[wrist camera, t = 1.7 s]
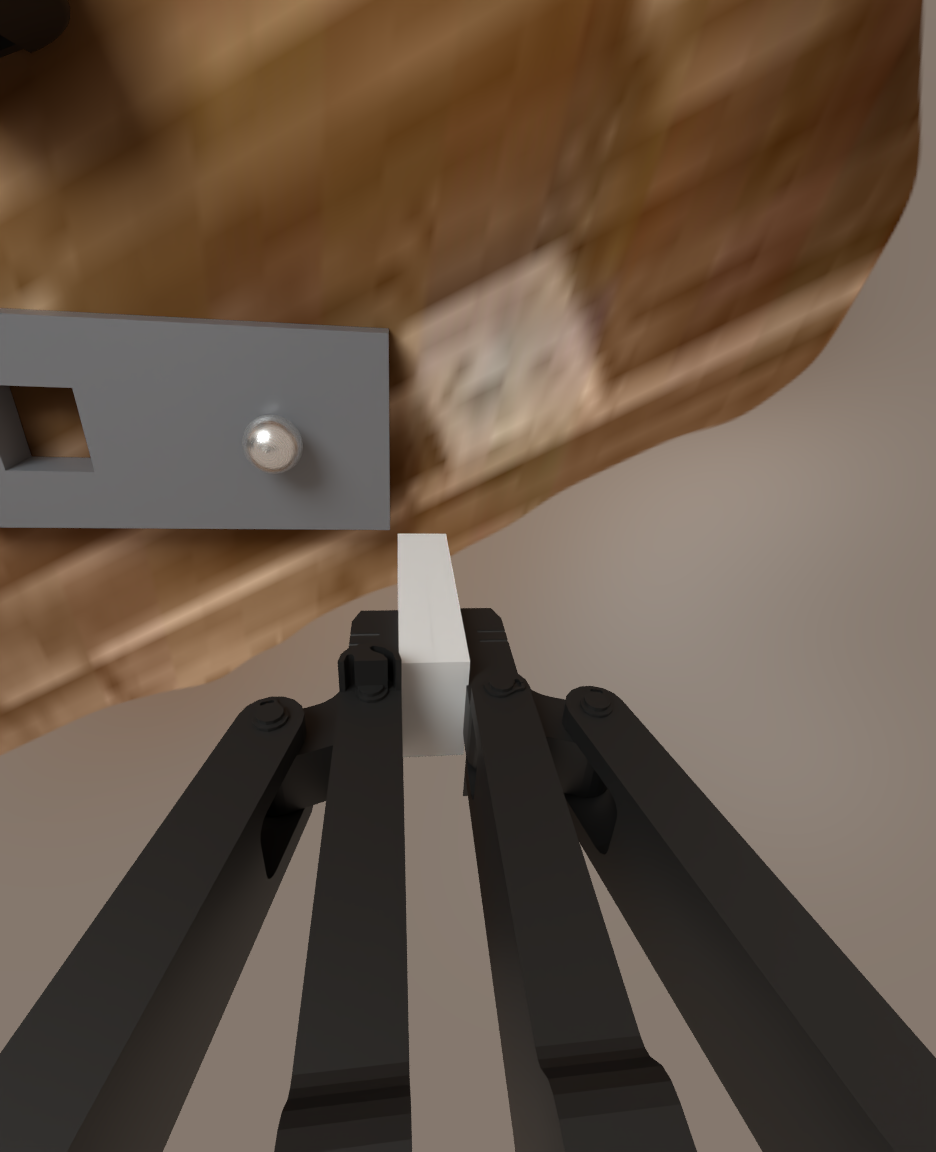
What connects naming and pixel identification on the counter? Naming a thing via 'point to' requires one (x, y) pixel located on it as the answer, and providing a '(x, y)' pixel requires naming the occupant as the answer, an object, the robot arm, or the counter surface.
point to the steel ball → (272, 444)
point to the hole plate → (196, 422)
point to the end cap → (31, 23)
